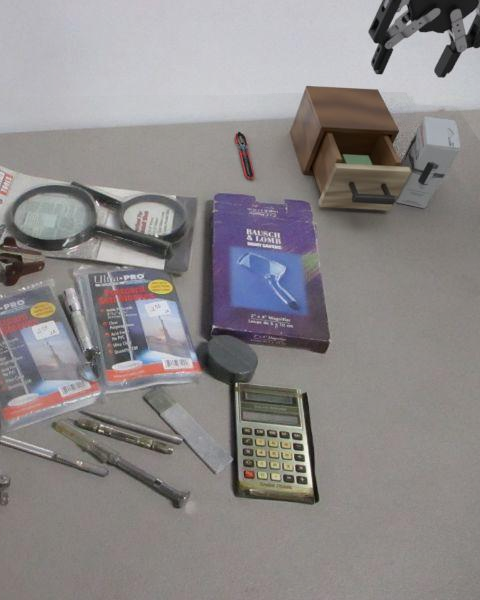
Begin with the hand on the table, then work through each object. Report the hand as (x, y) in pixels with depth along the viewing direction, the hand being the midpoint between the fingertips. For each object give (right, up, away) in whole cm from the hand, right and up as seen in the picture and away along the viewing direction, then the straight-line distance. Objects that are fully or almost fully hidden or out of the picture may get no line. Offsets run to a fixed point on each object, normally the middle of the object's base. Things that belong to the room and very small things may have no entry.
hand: (408, 73), depth 82 cm
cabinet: (0, -5, +25) cm, 26 cm away
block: (0, -12, +17) cm, 21 cm away
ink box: (+11, -13, +20) cm, 26 cm away
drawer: (0, -14, +17) cm, 22 cm away
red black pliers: (-16, -6, +24) cm, 30 cm away
